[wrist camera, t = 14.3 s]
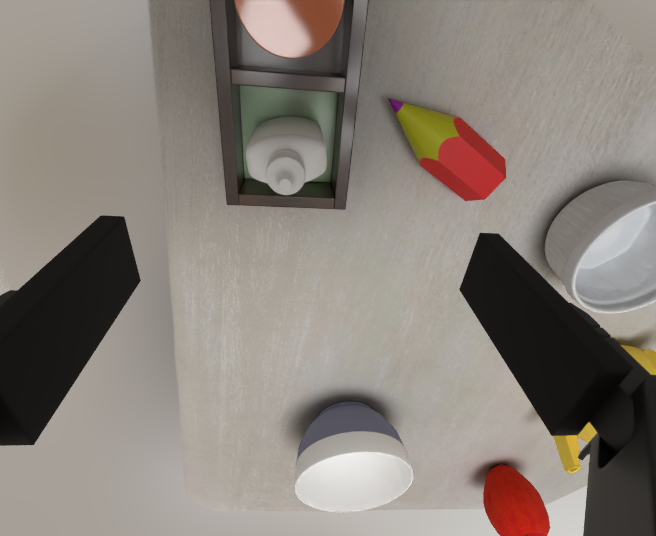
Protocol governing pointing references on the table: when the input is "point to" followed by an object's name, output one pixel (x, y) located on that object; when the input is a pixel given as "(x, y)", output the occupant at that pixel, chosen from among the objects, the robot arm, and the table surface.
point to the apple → (514, 504)
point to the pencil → (451, 151)
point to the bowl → (351, 460)
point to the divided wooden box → (287, 103)
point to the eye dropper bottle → (286, 153)
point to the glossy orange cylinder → (290, 24)
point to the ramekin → (607, 247)
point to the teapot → (569, 444)
